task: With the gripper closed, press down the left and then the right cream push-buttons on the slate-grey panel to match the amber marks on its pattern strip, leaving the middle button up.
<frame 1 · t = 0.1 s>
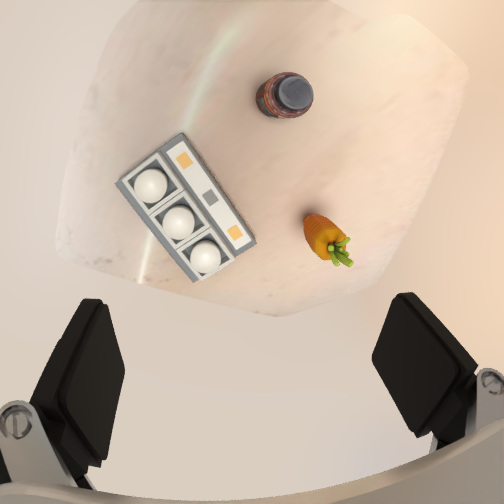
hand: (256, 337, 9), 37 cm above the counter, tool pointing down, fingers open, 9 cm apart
carrot: (307, 217, 48), on the counter
panel: (187, 208, 45), on the counter
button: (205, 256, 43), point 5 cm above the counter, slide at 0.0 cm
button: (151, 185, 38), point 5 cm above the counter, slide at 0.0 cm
button middle: (178, 222, 41), point 5 cm above the counter, slide at 0.0 cm
supplement bottle: (275, 99, 39), on the counter
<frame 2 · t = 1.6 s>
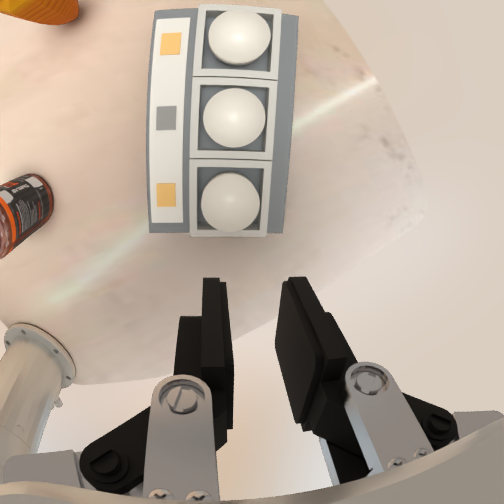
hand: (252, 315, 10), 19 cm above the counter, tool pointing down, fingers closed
carrot: (75, 17, 18), on the counter
panel: (219, 118, 24), on the counter
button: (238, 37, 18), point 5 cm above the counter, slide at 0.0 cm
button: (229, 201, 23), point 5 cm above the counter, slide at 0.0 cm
button middle: (233, 117, 20), point 5 cm above the counter, slide at 0.0 cm
supplement bottle: (34, 199, 25), on the counter
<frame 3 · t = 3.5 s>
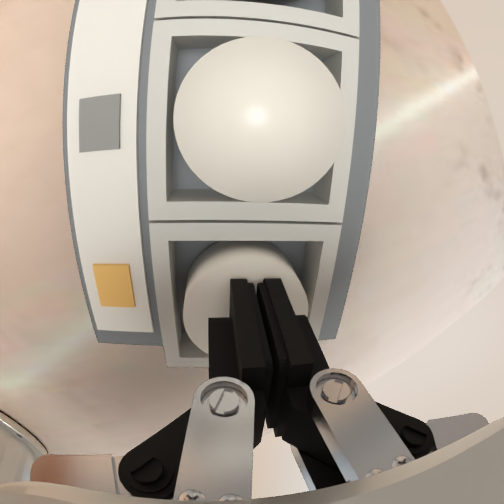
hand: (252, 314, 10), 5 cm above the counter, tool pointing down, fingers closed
panel: (218, 118, 12), on the counter
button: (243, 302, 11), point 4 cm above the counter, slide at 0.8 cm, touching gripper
button middle: (257, 118, 8), point 5 cm above the counter, slide at 0.0 cm
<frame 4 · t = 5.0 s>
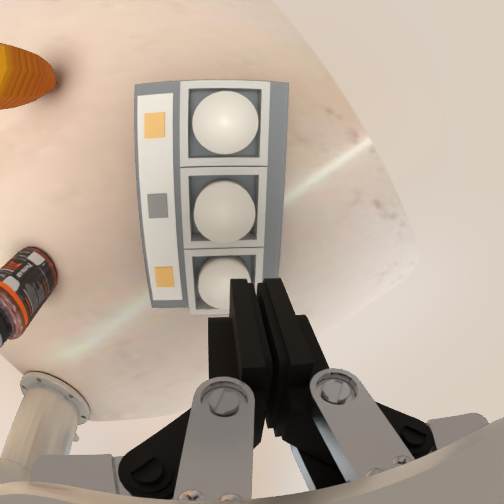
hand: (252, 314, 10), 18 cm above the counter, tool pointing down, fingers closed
carrot: (54, 83, 19), on the counter
panel: (210, 195, 26), on the counter
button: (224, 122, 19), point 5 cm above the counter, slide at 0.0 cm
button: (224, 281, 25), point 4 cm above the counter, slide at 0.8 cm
button middle: (224, 210, 22), point 5 cm above the counter, slide at 0.0 cm
supplement bottle: (37, 269, 27), on the counter
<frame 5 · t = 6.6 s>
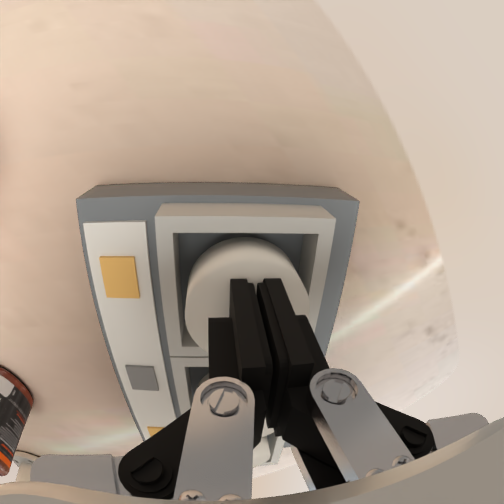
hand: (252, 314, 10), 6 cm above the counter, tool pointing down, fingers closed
panel: (216, 346, 18), on the counter
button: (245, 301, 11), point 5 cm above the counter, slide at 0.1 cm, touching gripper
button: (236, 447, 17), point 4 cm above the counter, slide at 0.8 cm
button middle: (240, 406, 14), point 5 cm above the counter, slide at 0.0 cm
supplement bottle: (9, 383, 18), on the counter
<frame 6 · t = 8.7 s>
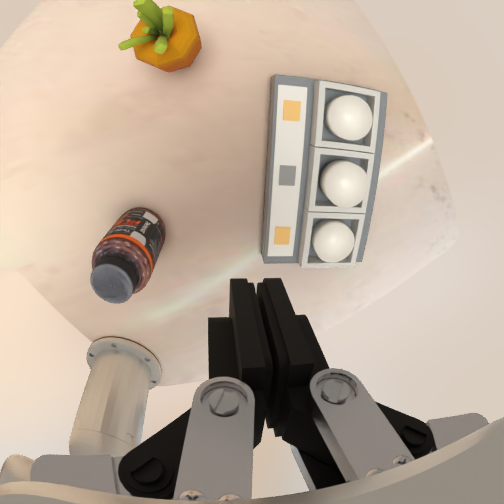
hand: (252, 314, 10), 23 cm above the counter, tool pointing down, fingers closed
carrot: (182, 58, 25), on the counter
panel: (320, 171, 32), on the counter
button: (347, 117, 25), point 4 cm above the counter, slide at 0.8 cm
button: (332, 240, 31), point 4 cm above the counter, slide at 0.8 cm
button middle: (344, 183, 27), point 5 cm above the counter, slide at 0.0 cm
supplement bottle: (141, 229, 33), on the counter
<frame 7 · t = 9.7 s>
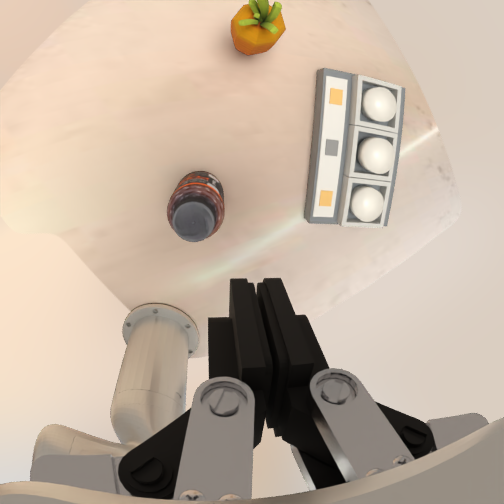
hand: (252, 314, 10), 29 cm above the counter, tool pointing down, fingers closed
carrot: (246, 48, 30), on the counter
panel: (353, 149, 37), on the counter
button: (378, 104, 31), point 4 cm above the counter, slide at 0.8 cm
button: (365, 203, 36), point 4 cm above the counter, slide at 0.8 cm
button middle: (376, 155, 33), point 5 cm above the counter, slide at 0.0 cm
supplement bottle: (199, 192, 37), on the counter
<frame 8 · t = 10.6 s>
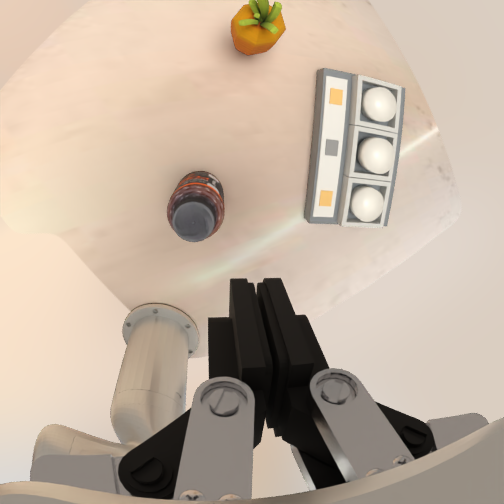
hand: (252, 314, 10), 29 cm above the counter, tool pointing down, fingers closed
carrot: (246, 48, 30), on the counter
panel: (353, 149, 37), on the counter
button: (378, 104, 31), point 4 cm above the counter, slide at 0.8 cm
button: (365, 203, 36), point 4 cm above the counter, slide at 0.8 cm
button middle: (376, 155, 33), point 5 cm above the counter, slide at 0.0 cm
supplement bottle: (199, 192, 37), on the counter
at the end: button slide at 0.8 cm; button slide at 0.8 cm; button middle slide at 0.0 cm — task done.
